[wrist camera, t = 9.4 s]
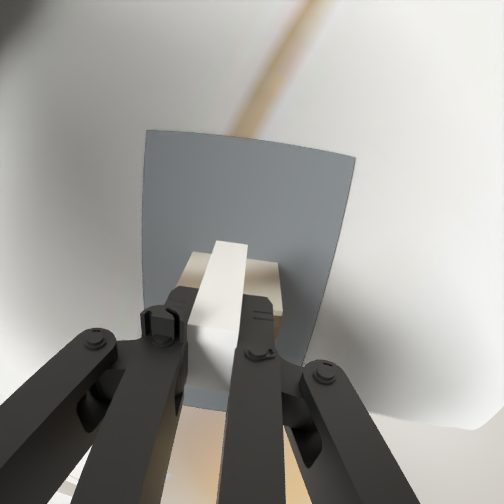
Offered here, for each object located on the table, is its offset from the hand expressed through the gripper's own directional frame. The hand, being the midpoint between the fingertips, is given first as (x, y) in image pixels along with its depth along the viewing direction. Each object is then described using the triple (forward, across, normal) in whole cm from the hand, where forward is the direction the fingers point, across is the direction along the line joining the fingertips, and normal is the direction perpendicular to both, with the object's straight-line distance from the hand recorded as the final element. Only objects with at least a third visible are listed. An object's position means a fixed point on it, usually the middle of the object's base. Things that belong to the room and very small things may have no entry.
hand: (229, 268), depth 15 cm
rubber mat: (+10, 0, -9) cm, 14 cm away
